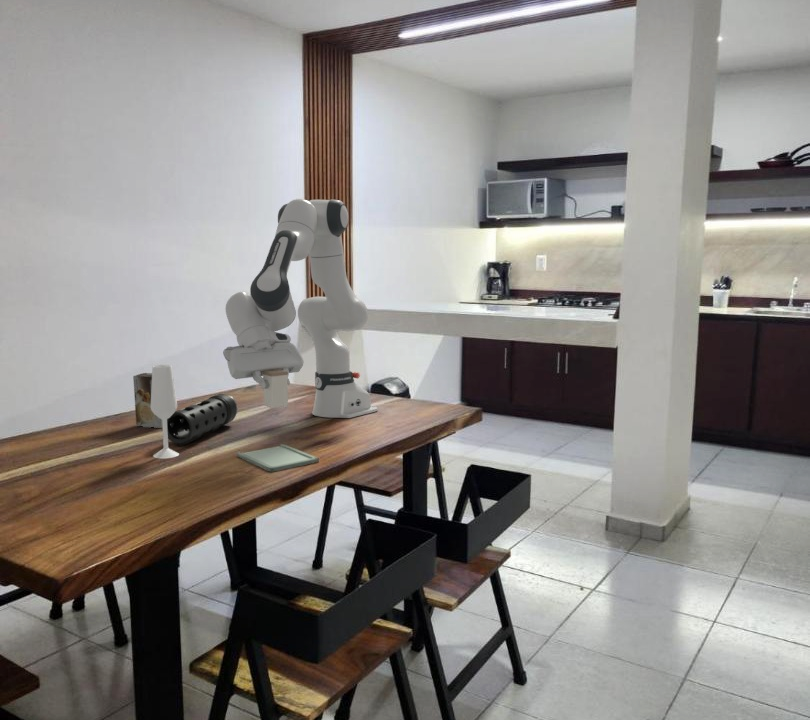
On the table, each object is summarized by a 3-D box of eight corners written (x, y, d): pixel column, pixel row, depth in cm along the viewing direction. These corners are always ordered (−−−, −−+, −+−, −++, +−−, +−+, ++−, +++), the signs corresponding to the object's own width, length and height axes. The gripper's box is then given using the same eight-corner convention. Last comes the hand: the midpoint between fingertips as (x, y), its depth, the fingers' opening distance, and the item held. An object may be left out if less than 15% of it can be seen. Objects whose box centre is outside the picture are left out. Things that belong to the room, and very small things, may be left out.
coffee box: (172, 424, 228) (170, 373, 226) (161, 428, 222) (159, 377, 219) (146, 422, 230) (144, 372, 228) (134, 426, 224) (132, 375, 222)
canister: (279, 403, 191) (278, 369, 189) (288, 405, 187) (287, 371, 186) (263, 405, 188) (262, 371, 186) (272, 408, 184) (271, 373, 183)
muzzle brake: (162, 446, 202) (161, 410, 201) (213, 423, 229) (212, 391, 227) (193, 448, 200) (192, 412, 198) (240, 425, 227) (239, 393, 225)
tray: (283, 447, 201) (283, 444, 201) (318, 461, 187) (318, 458, 187) (236, 456, 192) (236, 452, 192) (270, 472, 178) (270, 468, 178)
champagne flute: (178, 450, 197) (174, 363, 194) (180, 457, 191) (176, 367, 187) (152, 452, 195) (148, 364, 191) (153, 459, 189) (148, 368, 185)
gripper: (224, 339, 184) (243, 383, 178) (294, 334, 196) (314, 374, 190) (217, 355, 188) (235, 398, 182) (286, 349, 201) (305, 389, 194)
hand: (276, 386), depth 186 cm, fingers closed on canister, 4 cm apart
